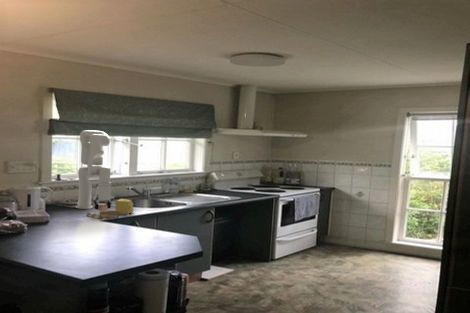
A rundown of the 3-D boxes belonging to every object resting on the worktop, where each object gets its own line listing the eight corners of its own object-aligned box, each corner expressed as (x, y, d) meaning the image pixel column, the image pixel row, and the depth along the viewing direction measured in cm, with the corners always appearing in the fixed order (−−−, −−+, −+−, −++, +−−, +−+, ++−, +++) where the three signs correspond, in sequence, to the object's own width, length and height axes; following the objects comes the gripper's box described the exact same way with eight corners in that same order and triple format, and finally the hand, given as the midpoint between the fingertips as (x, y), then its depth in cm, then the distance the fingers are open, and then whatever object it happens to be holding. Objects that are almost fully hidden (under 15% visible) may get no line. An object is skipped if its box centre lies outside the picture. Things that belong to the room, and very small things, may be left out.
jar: (96, 216, 317) (97, 204, 317) (103, 215, 322) (104, 204, 322) (101, 217, 314) (102, 206, 313) (108, 216, 318) (109, 205, 318)
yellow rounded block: (133, 213, 340) (133, 199, 339) (128, 215, 329) (129, 201, 329) (119, 212, 341) (120, 198, 340) (114, 214, 330) (115, 200, 330)
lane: (87, 215, 317) (87, 208, 317) (105, 213, 328) (105, 207, 328) (100, 219, 307) (100, 212, 307) (119, 217, 318) (119, 210, 318)
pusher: (98, 217, 312) (98, 210, 311) (112, 216, 320) (112, 209, 320) (99, 217, 311) (99, 211, 311) (113, 216, 319) (113, 209, 319)
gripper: (111, 183, 326) (110, 207, 327) (90, 184, 313) (88, 209, 314) (117, 184, 322) (116, 208, 323) (96, 185, 308) (94, 210, 309)
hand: (102, 208), depth 318 cm, fingers open, 9 cm apart
